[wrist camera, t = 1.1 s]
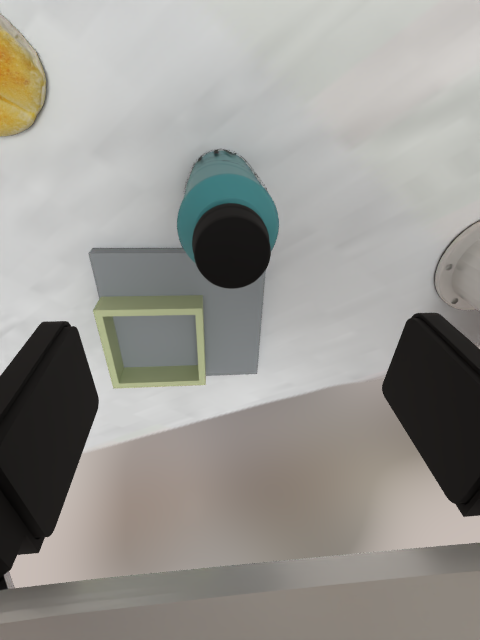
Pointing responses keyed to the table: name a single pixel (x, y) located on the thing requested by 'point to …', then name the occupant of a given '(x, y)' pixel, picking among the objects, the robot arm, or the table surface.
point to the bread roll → (18, 81)
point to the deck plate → (172, 319)
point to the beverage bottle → (227, 221)
